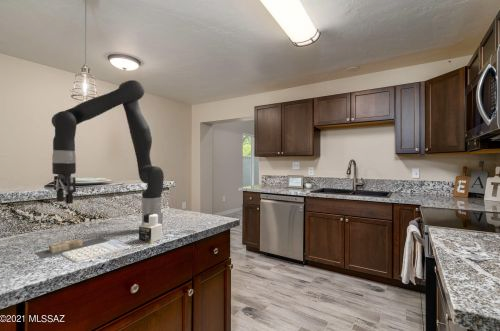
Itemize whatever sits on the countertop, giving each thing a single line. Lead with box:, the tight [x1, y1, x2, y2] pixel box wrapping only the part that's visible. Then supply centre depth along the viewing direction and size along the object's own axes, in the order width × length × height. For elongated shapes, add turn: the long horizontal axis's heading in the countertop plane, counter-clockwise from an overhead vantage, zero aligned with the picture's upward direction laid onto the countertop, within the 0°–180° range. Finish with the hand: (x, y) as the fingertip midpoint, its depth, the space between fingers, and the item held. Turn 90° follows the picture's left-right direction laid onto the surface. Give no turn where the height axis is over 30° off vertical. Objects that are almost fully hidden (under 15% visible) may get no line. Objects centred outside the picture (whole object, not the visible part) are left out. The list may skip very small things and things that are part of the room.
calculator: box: [61, 239, 130, 263], centre depth 97 cm, size 13×20×2 cm, turn 145°
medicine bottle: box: [138, 213, 163, 245], centre depth 112 cm, size 7×7×12 cm
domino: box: [48, 238, 83, 253], centre depth 99 cm, size 4×2×10 cm
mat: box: [33, 237, 110, 259], centre depth 101 cm, size 24×9×1 cm, turn 146°
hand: (64, 202), depth 99 cm, fingers open, 8 cm apart
